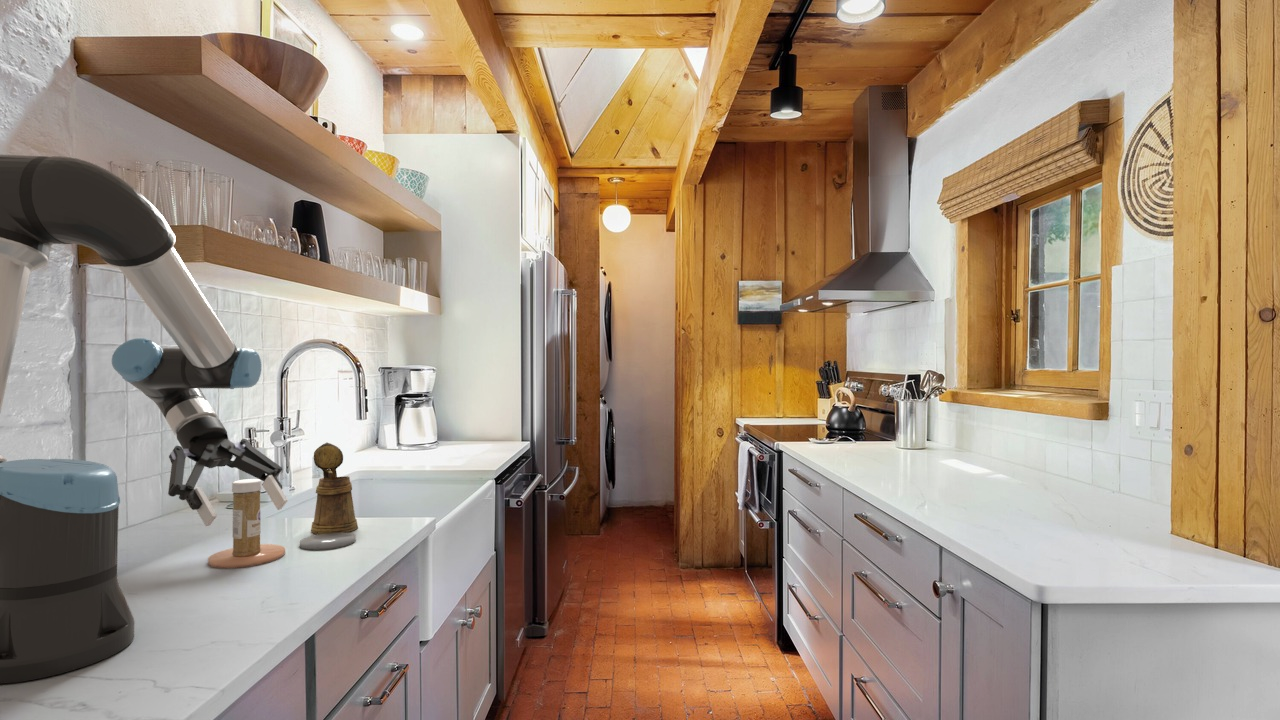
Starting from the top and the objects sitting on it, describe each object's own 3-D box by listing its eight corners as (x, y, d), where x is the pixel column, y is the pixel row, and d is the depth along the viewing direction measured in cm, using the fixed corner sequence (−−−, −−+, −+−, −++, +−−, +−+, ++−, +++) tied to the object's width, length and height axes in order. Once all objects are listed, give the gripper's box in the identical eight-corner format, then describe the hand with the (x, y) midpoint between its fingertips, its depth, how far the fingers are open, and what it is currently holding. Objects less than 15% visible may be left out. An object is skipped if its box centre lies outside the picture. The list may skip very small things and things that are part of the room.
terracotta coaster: (216, 572, 107) (216, 568, 107) (201, 557, 116) (201, 553, 116) (293, 557, 116) (293, 553, 116) (274, 544, 124) (274, 540, 124)
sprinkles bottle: (261, 554, 115) (262, 480, 115) (231, 559, 112) (232, 483, 112) (260, 548, 119) (260, 477, 119) (231, 552, 116) (231, 479, 116)
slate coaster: (309, 553, 118) (309, 549, 119) (292, 542, 126) (292, 538, 126) (363, 542, 126) (363, 538, 126) (344, 533, 133) (344, 529, 133)
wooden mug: (347, 518, 146) (348, 440, 146) (362, 531, 135) (362, 446, 135) (304, 524, 140) (305, 443, 141) (315, 537, 130) (316, 449, 130)
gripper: (250, 434, 135) (299, 511, 129) (114, 448, 112) (166, 542, 106) (267, 410, 133) (318, 487, 127) (133, 419, 110) (186, 514, 104)
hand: (249, 512), depth 116 cm, fingers open, 13 cm apart
